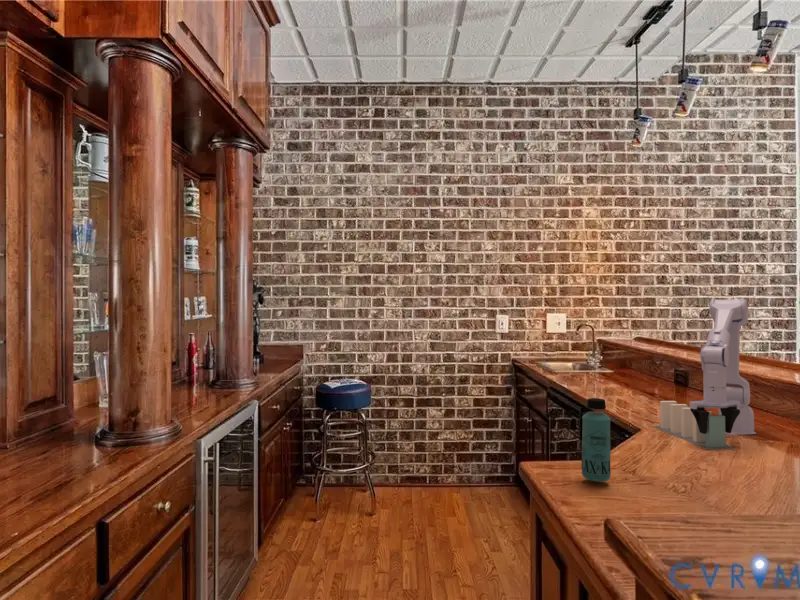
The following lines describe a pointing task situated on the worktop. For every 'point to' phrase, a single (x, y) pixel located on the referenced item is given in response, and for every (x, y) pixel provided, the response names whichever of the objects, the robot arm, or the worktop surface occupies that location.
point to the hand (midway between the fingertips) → (715, 432)
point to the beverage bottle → (596, 442)
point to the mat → (690, 439)
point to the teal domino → (715, 431)
